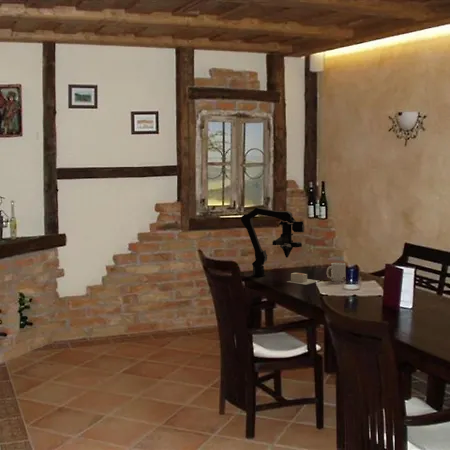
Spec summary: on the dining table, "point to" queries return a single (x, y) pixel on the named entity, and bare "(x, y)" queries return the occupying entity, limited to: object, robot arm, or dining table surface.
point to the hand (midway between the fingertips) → (286, 257)
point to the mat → (303, 282)
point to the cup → (337, 271)
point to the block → (299, 277)
